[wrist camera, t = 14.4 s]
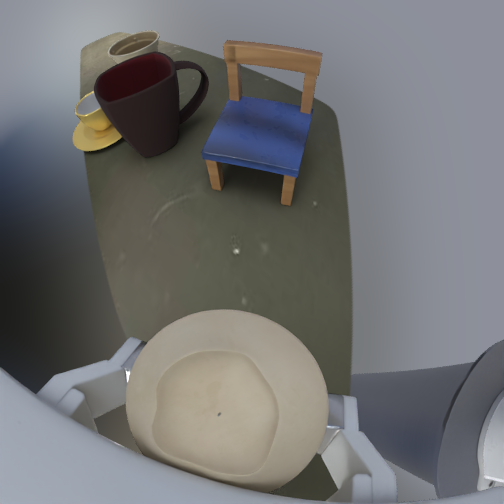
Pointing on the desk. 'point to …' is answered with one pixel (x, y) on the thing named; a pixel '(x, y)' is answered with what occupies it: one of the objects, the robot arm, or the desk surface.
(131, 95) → the mug
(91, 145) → the cup
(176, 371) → the candle
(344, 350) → the desk surface
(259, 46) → the chair
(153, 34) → the flower pot
